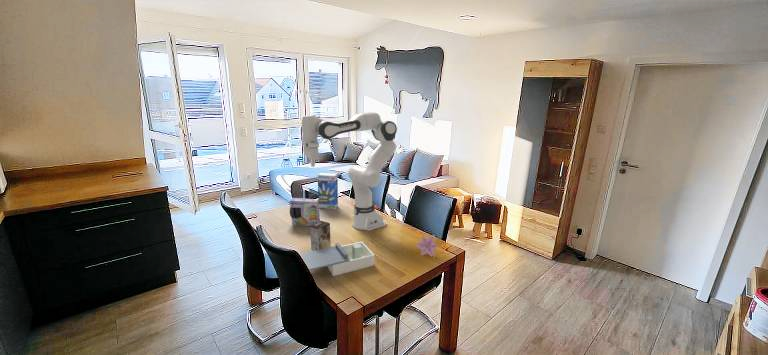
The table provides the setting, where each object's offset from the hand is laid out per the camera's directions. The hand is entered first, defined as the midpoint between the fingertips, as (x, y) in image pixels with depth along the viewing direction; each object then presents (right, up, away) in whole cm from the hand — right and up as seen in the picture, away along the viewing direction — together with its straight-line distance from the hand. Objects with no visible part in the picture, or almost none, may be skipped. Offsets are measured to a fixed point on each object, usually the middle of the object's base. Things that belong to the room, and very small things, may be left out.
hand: (310, 164), depth 192 cm
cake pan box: (-7, -39, +14) cm, 42 cm away
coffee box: (+10, -49, -19) cm, 53 cm away
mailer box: (+26, -52, -30) cm, 66 cm away
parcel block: (+31, -51, -28) cm, 66 cm away
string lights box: (+3, -30, +45) cm, 54 cm away
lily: (+69, -50, -19) cm, 87 cm away
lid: (+15, -47, -38) cm, 62 cm away
